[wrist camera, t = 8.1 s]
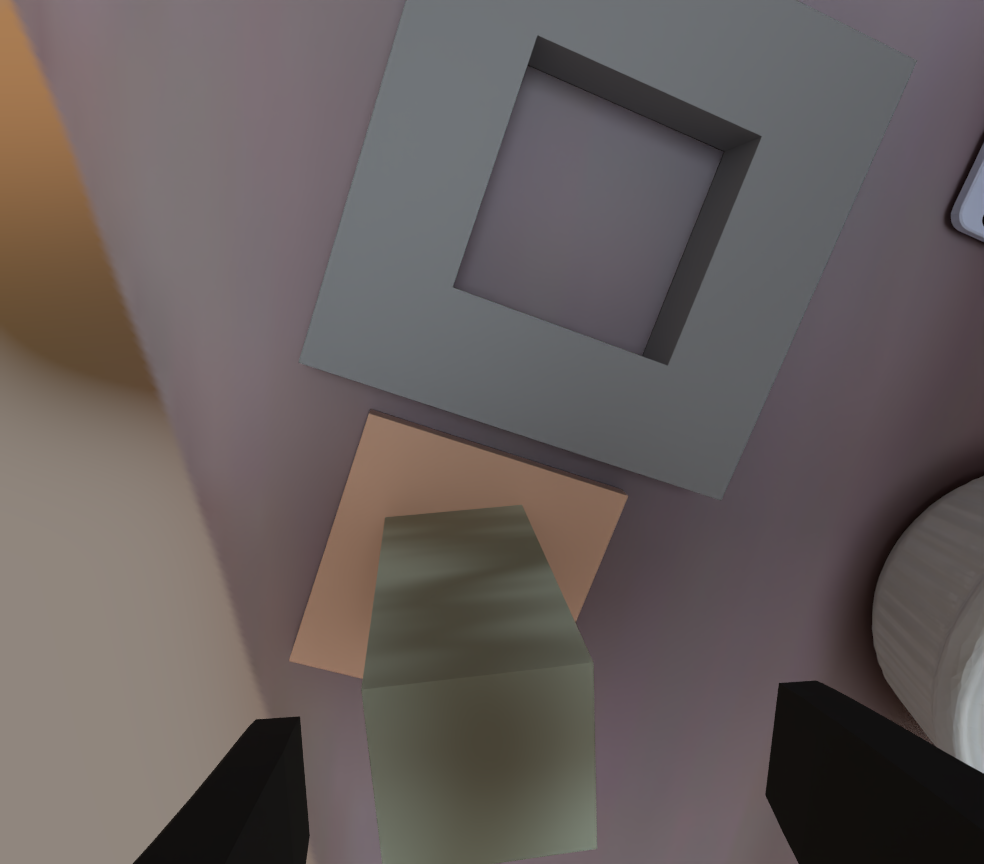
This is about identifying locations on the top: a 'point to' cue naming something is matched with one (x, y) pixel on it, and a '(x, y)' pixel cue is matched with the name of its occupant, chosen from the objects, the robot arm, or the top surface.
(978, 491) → the ramekin
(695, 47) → the pocket board
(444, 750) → the sage block
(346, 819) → the top surface
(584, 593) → the coaster
